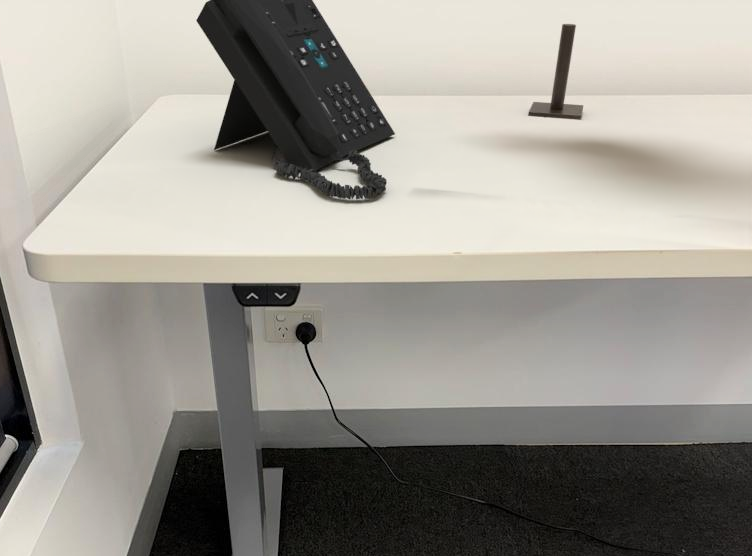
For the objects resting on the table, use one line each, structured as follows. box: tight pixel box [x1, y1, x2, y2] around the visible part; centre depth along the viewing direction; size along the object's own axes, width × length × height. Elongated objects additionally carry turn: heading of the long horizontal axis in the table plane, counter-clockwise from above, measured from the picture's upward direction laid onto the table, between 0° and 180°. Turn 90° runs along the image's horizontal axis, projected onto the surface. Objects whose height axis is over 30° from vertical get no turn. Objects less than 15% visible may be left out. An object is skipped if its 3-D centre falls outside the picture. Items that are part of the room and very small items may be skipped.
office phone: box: [195, 0, 396, 200], centre depth 92 cm, size 29×28×20 cm
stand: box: [527, 23, 584, 121], centre depth 116 cm, size 8×8×13 cm
